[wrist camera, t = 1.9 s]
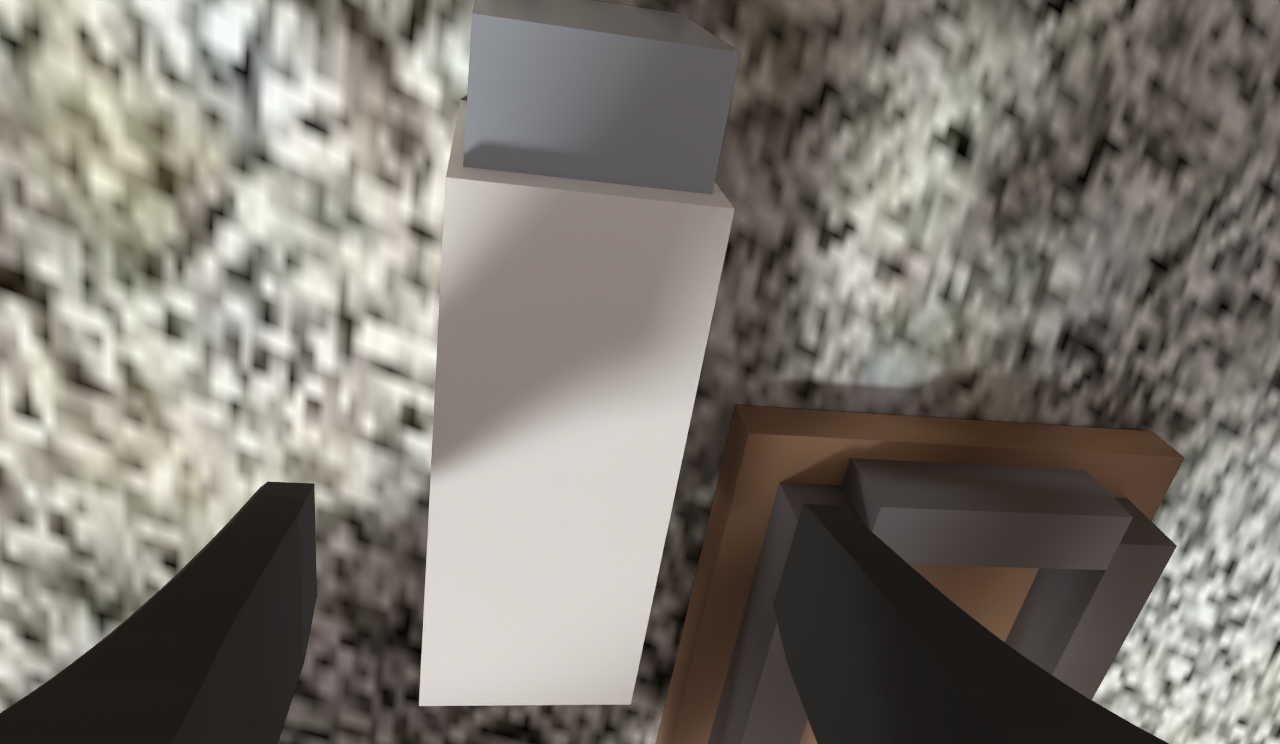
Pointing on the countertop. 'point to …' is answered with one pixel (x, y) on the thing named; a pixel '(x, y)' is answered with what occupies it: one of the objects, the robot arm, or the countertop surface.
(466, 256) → the white pillar grey cap
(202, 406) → the countertop surface
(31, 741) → the robot arm
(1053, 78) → the countertop surface
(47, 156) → the countertop surface
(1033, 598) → the cradle jig
